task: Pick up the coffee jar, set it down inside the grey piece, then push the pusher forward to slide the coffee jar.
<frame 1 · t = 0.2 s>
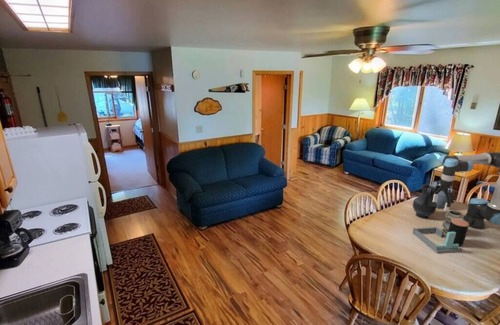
hand: (440, 206, 201), 27 cm above the table, fingers open, 13 cm apart
grey piece: (435, 241, 205), on the table
vase: (437, 206, 258), on the table
coffee jar: (454, 242, 203), on the table
apothecary jar: (449, 232, 216), on the table
pusher: (449, 241, 192), point 8 cm above the table, slide at 0.0 cm
pitcher: (421, 217, 239), on the table
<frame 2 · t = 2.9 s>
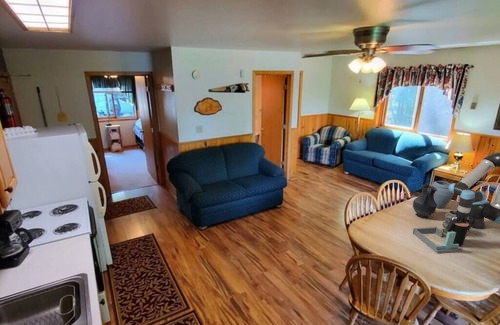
hand: (455, 237, 201), 5 cm above the table, fingers closed on coffee jar, 11 cm apart
coffee jar: (454, 242, 203), on the table, touching gripper
everything else where it was.
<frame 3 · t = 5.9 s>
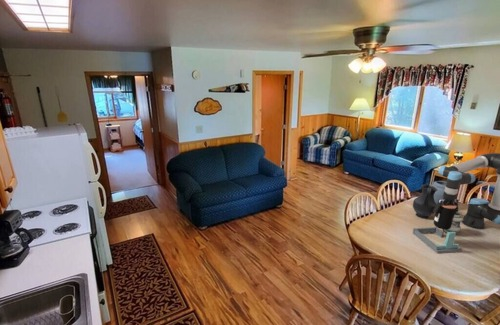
hand: (443, 220, 196), 20 cm above the table, fingers closed on coffee jar, 11 cm apart
coffee jar: (441, 226, 198), point 14 cm above the table, touching gripper
everything else where it was.
when the fingers open (6 cm above the table, at t = 8.8 s): coffee jar drops 1 cm, on the table.
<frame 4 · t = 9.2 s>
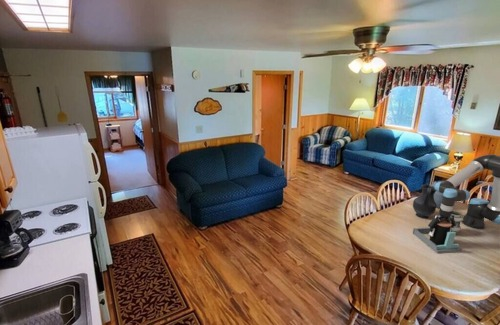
hand: (439, 234, 200), 7 cm above the table, fingers open, 13 cm apart
coffee jar: (437, 243, 203), on the table
everything else where it was.
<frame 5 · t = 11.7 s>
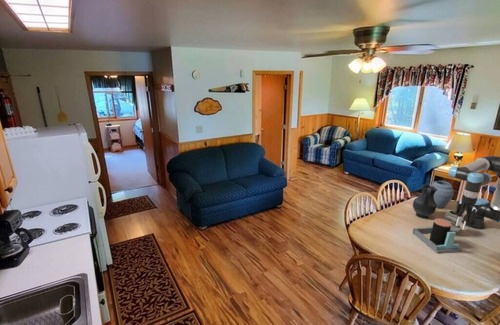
hand: (461, 227, 182), 23 cm above the table, fingers open, 4 cm apart
nothing on the table moved.
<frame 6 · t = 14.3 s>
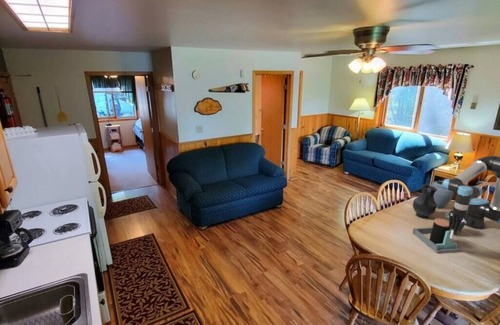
hand: (452, 238, 189), 11 cm above the table, fingers closed
pusher: (447, 240, 193), point 8 cm above the table, slide at 1.5 cm, touching gripper
everything else where it was.
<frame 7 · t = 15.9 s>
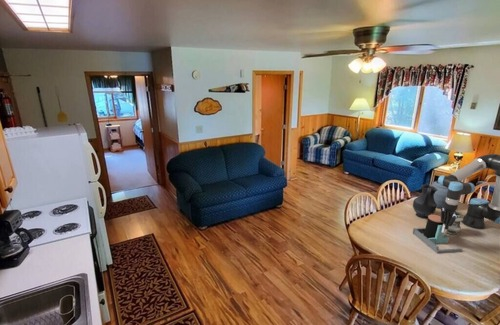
hand: (443, 232, 196), 11 cm above the table, fingers closed
coffee jar: (431, 238, 208), on the table, touching pusher
pusher: (439, 234, 200), point 8 cm above the table, slide at 8.8 cm, touching coffee jar, gripper
everything else where it was.
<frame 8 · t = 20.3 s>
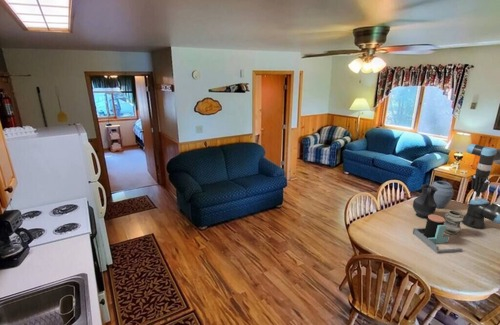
hand: (474, 199, 195), 34 cm above the table, fingers closed
pusher: (439, 234, 200), point 8 cm above the table, slide at 9.1 cm, touching coffee jar
everything else where it was.
at the end: coffee jar inside the target area (0.8 cm from its centre), on the table; pusher slide at 9.1 cm; coffee jar tilted 0° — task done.
